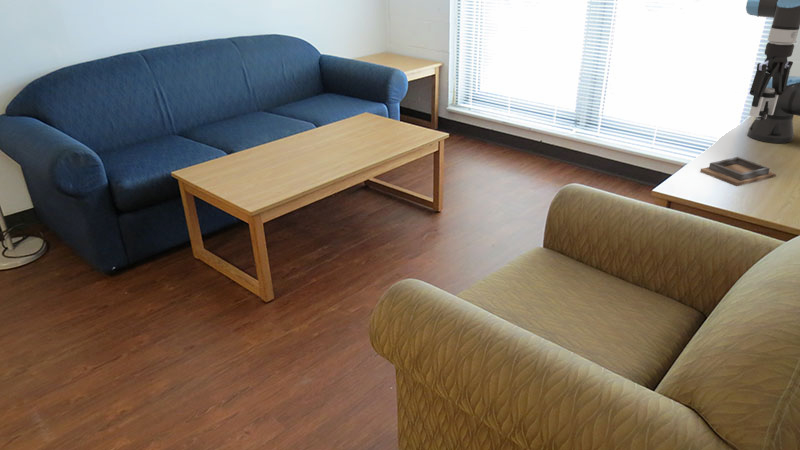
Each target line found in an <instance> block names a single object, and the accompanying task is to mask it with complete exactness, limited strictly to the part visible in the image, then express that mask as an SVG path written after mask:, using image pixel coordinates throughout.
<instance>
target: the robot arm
mask: <svg viewBox="0 0 800 450" xmlns="http://www.w3.org/2000/svg"><path fill="white" fill-rule="evenodd" d="M745 10H746V13H747V14H748V15H749V16H753V17H754V16H755V17H761V18H771V19H773V20H772V24H771V26H770V31H769V33H768V37H767V41H768V42H767V43H766V45H765V49H764V55H765V56H766V58H765V60H764V61H763V62H762V63H761V62H758V63H757V64H756V70H755V71H756V72H755V74H754V78H753V81H752V84H751V87H750V90H749V94H750V96H753V98H752V102H751V107H750V110H749V114H748V116H750V117H754V118H755V117H758V116H759V112H760V109H761V105H762V101H763V98H764V97H762V95H763V93H764V91H765V89H766V87H768V88H774V89H775V90H774V91H775V92H777V94H776V95H775V98H772V99H769V100H768V101H769V102H768V108H769V111H768V115H767V118H766V119H763V120H762V121H761V120H756V118H755V119H754V120H753V122H752V123H751V124H750V127H749V128H748V131H747V136H748V137H749V138H751V139H754V140H756V141H760V142H765V143H772V144H773V143H774V144H786V143H791V142H793V139H794V136H795V134H794V121H793V120H794V116H797V117H800V76H797V75H796V76H794V75H793V76H791V75H790V72H791V69H792V66H793V64H794V63H793V61H792V60H791V61H790V60H788V58H790V57H792V55H793V53H794V49H795V45H794V44H795V43H796V41H797V38H798V34H799V30H800V0H747V1H746V5H745ZM759 92H760V93H759Z"/></svg>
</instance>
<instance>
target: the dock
mask: <svg viewBox="0 0 800 450" xmlns="http://www.w3.org/2000/svg"><path fill="white" fill-rule="evenodd" d="M699 172H700V173H702V172H703V174H705V175H708V176H710V177H712V178H715V179H718V180H720V181H723V182H726V183H729V184H730V185H733V186H736V187H740V186H742V185H747V184H750V183H755V182H759V181H763V179H764V180H767V179H766V178H768V179H770V178H769V177H772V178H774V177H773V176H775V177H776V176H777V173H775V172H773V171H770V167H768V166H765V165H762V164H760V163H759V164H758V163H756V162H753V161H751V160H747V159H744V158H743V157H739V156H736V157H732V158H731V157H730V158H726V159H721V160H718V161H714V162H710V163H709V166H707V167H702V168H700V171H699Z"/></svg>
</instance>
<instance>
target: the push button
mask: <svg viewBox="0 0 800 450" xmlns="http://www.w3.org/2000/svg"><path fill="white" fill-rule="evenodd" d="M774 90H775V89H774V88H768V87H766V89H765V91H764V93H763V95H762V97H764V98H763V101H762V105H761V109H760V112H759V116H758V117H754V118H755V119H756V120H761V121H762V120H763V119H766V118H767V115H768V111H769V108H768V102H769V101H768V100H769V99H772V98H775V95H776V94H777V92H775V91H774ZM759 93H760V92H759Z"/></svg>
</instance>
